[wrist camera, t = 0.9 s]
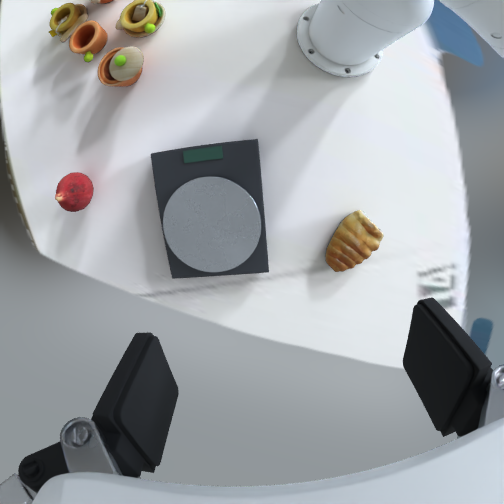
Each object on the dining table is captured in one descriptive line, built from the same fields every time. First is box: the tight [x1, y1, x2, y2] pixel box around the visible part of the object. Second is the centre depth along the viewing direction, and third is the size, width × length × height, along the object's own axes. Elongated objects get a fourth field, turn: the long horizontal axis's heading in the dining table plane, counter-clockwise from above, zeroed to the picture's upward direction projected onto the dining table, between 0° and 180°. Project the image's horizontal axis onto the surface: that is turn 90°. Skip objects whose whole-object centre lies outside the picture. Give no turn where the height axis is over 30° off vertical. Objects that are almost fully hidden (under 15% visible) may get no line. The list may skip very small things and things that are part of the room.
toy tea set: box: [49, 0, 165, 86], centre depth 25 cm, size 26×16×10 cm, turn 41°
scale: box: [151, 139, 269, 278], centre depth 39 cm, size 18×14×3 cm
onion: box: [55, 173, 93, 212], centre depth 35 cm, size 6×6×8 cm
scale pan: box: [163, 176, 261, 272], centre depth 37 cm, size 13×13×1 cm
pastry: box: [325, 210, 383, 272], centre depth 40 cm, size 9×7×4 cm
